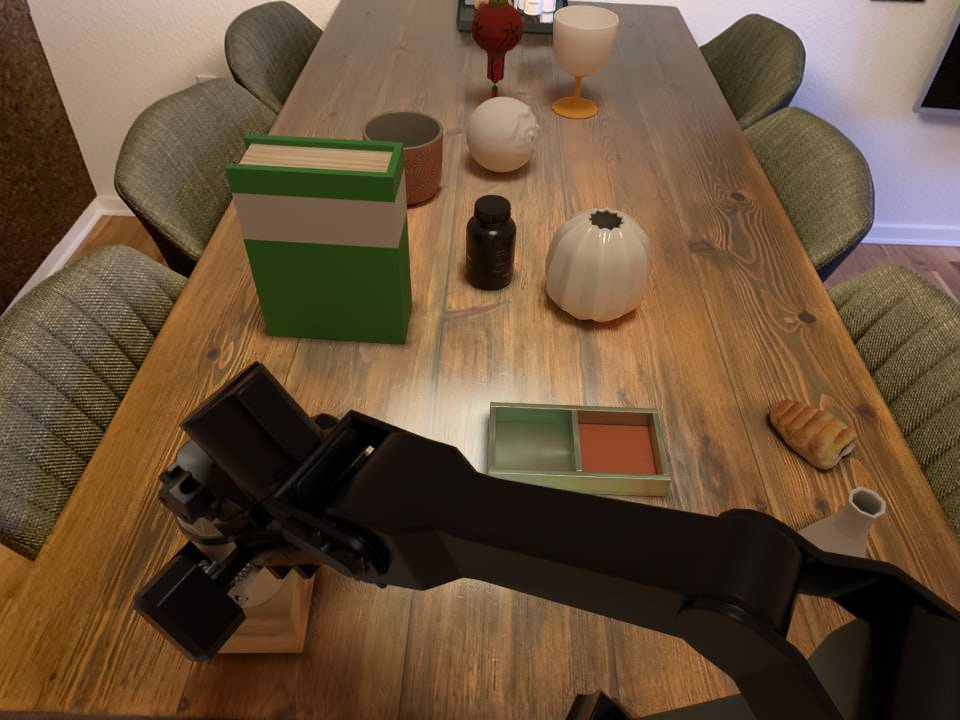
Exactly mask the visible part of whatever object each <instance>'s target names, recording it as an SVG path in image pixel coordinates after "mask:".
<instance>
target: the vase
mask: <svg viewBox="0 0 960 720" xmlns="http://www.w3.org/2000/svg"><path fill="white" fill-rule="evenodd" d="M651 245H652V244H651V241H650V239H649V236H648V234H647V233H646V232H645V231H644V230H643V229H642V228H641V225H640V223H639V222H638V221H637V220H636V219H635V218H633V217H632V216H630V215H628V214H627V213H625V212H624V211H621V210H618V209H614V208H612V207H607V206H602V207H592V208H586V209H583V210H580V211H577V212H575V213H572V214H571V215H570V216H569V218H568V219H567V220H566V221H565V222H563V223H561V224H560V225H559V227H558V228H557V229H556V230H555V232H554V234H553V236H552V238H551V240H550V243H549V247H548V249H547V253H546V256H545V264H544V274H545V275H544V276H545V278H546V282H545V291H546V294H547V295H548V296H549V298H550V299H551V300H552V302H554V303H555V304H556V306H558V307H559V308H560V309H561V310H562V311H565V312H566V313H568V314H569V315H571V316H572V317H574V318H575V319H577V320H579V321H582V320H583V321H585V320H593V321H595V322H598V323H606V322H609V321H612V320H615V319H619V318H621V317H623V316H624V315H626V314H629V313H630V312H632V311H634V310H635V309H637V308H638V307H640V306H641V305H642V304H643V301H644V299H645V295H646V290H647V284H648V282H649V279H650V274H651V267H652V246H651Z"/></svg>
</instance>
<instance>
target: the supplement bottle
mask: <svg viewBox="0 0 960 720" xmlns="http://www.w3.org/2000/svg"><path fill="white" fill-rule="evenodd" d="M511 210H512V205H511V202H510V200H509V199H507V197H504V196H501V195H498V194H485V195H482V196H480V197H478V198H477V199H476V200H475V202H474V206H473V215H472V216H471V217H470V219H469V220H468V221H467V223H466V227H465V266H464V267H465V271H464V272H465V277H466V278H467V281H468V282H469V283H470V284H472V285H473V286H474V287H476V288H478V289H479V288H480V289H481V290H488V291H489V290H490V291H491V290H498V289H501V288H503V287H505V286H507V285H508V284H509V283H511V281H512V279H513V277H514V269H515V259H516V258H515V256H516V255H515V254H516V245H517V231H518V229H517V224H516V222H515V220H514V219H513V218H512V211H511Z"/></svg>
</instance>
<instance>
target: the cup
mask: <svg viewBox="0 0 960 720" xmlns="http://www.w3.org/2000/svg"><path fill="white" fill-rule="evenodd" d="M552 20H553V21H552V45H553V54H554V59H555V61H556V63H557V65H558V66H559V68H560V69H561V70H562V71H563V72H564V73H567V74H568V75H571V76H572V77H574V80H575V82H574V91H573V96H565V97H560V98H557V99H555V100H554V101H553V102H552V103H551V109H552V111H553V112H554V113H555V114H556V115H559V116H561V117H563V118H568V119H571V120H572V119H573V120H582V119H588V118H589V119H590V118H591V117H594V116H596V114H597V113H598V112H599V108H598V105H597V104H596V103H595V102H594V101H592V100H590V99H588V98H584V97H580V91H581V90H580V89H581V84H582V79H583V78H585V77H589V76H593V75H596V74H597V73H599V72H600V71H601V70H602V69H603V67H604V66H605V65H606V64H607V62H608V61H609V60H610V57H611V55H612V52H613V49H614V45H615V42H616V38H617V34H618V30H619V25H620V19H619V16H618V15H617V14H616V13H615V12H613V11H611V10H609V9H606V8H603V7H599V6H594V5H580V4H576V5H567V6H565V7H561V8H558V9H557V10H556V11H555V12H554V13H553V19H552Z"/></svg>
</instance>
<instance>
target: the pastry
mask: <svg viewBox="0 0 960 720" xmlns="http://www.w3.org/2000/svg"><path fill="white" fill-rule="evenodd" d="M769 420H770V422H771V423H770V424H772V427H773V428H775V430H776V432H777V434H780V436H781V437H782V439H783V441H784V442H785V444H786V445H787V446H789V447H790V448H791V449H792V450H793V451H794V452H796V453H797V454H798V455H799V456H800V457H803V458H804V459H805V460H806V461H807V462H808V463H809V464H810V465H811V466H813V467H814V468H815V467H816V468H818V469H821V470H823V471H828V470H829V469H832V468H833V467H835V466H836V465H837V464H838V463H839V462H840V461H841V459H842V457H844V456H847V455H849V454H851V453H852V451H853V450H854V449H855V447H856V444H857V440H858V433H857V432H856V430H855V429H852V428H850V427H849V426H848V425H847V424H846V423H844V421H842V420H841V419H840V418H838V417H836V416H835V415H834V414H833V413H832V412H830V411H828V410H822V409H821V408H816V407H813V406H810V405H809V404H807V403H804V402H801V401H797V400H792V399H783V400H779V401H777V402H776V403H773V404H771V405H770V406H769Z"/></svg>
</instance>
